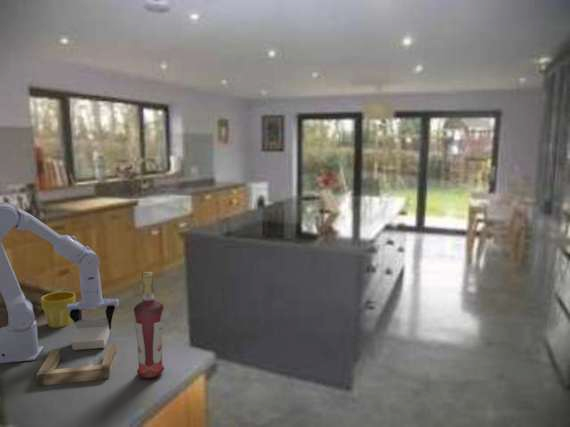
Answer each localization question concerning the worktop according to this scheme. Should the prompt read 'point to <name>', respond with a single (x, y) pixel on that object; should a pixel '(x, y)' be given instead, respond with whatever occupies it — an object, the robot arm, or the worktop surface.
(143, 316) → the liquor
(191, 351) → the worktop surface
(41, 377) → the wooden u-shaped frame
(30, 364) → the worktop surface
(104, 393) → the worktop surface
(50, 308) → the plant pot
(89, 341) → the grey l-shaped bracket
